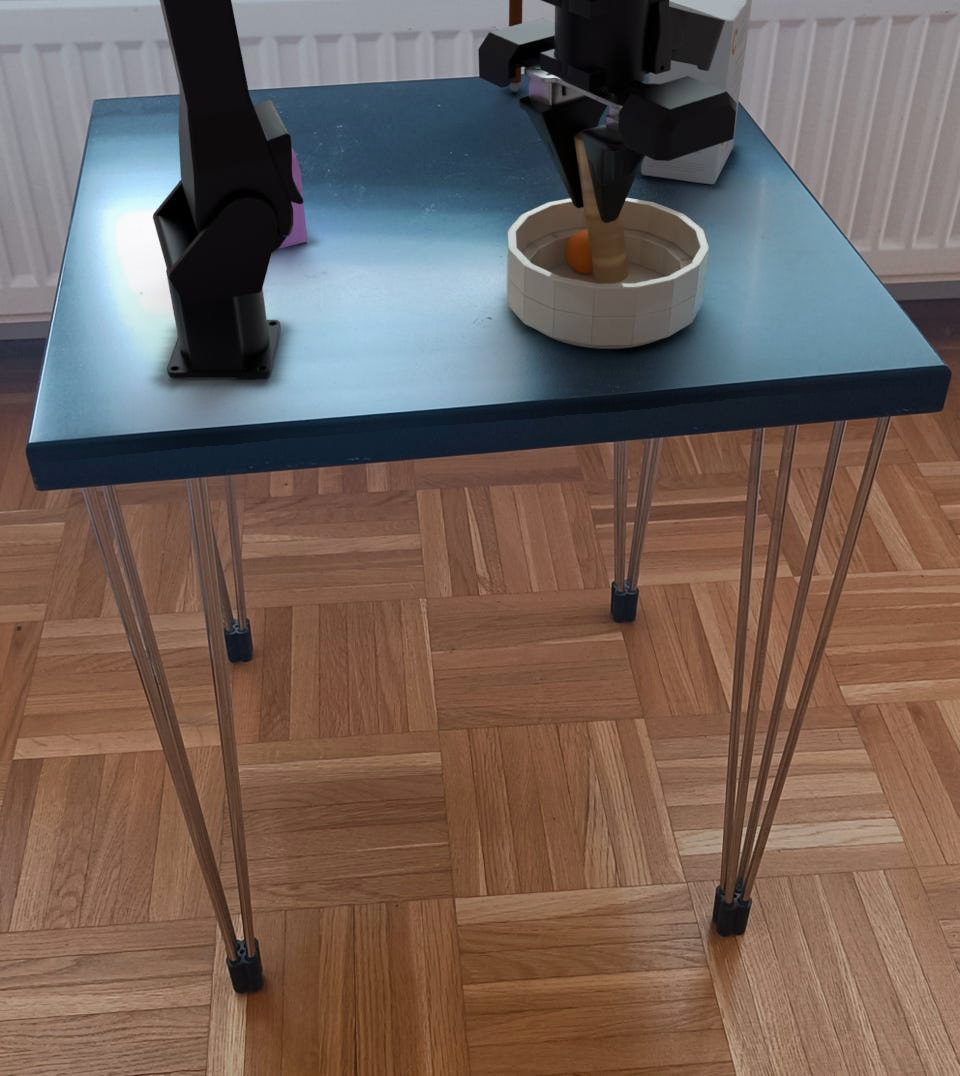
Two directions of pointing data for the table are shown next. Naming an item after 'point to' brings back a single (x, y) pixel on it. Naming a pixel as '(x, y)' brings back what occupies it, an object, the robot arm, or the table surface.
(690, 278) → the bowl
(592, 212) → the stirring stick
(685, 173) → the small box
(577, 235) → the ball
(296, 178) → the bracket
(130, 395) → the table surface
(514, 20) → the magnifying glass
